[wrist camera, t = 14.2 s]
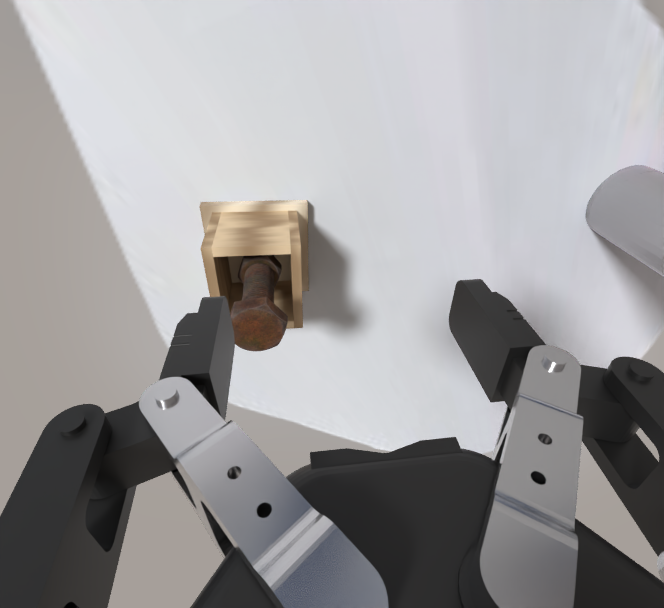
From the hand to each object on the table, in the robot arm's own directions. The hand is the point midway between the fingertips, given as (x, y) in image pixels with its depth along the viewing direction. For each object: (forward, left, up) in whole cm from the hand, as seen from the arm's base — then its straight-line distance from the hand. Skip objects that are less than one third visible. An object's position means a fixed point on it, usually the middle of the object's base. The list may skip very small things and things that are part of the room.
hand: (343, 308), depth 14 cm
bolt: (+5, +15, -32) cm, 36 cm away
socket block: (+5, +15, -33) cm, 37 cm away
